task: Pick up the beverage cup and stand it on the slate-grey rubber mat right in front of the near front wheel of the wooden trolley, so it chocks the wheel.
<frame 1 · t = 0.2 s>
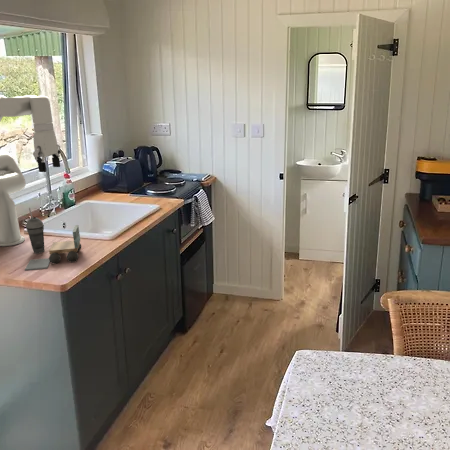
hand: (50, 169, 207), 36 cm above the table, tool pointing down, fingers open, 9 cm apart
beverage cup: (39, 252, 218), on the table
trolley: (66, 257, 210), on the table
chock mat: (38, 264, 203), on the table
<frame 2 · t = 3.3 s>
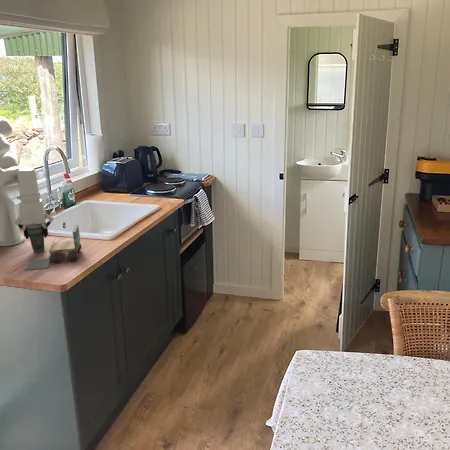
hand: (36, 237, 216), 7 cm above the table, tool pointing down, fingers closed on beverage cup, 7 cm apart
beverage cup: (39, 252, 218), on the table, touching gripper
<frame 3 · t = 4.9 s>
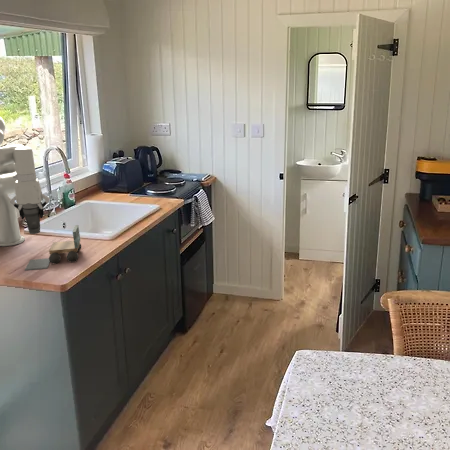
hand: (32, 217, 213), 16 cm above the table, tool pointing down, fingers closed on beverage cup, 7 cm apart
beverage cup: (34, 232, 216), point 9 cm above the table, touching gripper
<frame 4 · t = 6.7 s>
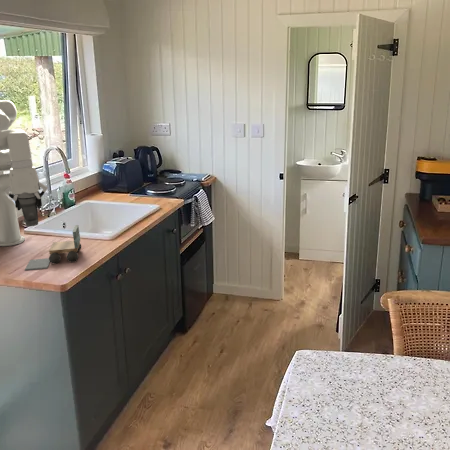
hand: (29, 208, 196), 24 cm above the table, tool pointing down, fingers closed on beverage cup, 6 cm apart
beverage cup: (32, 225, 199), point 17 cm above the table, touching gripper
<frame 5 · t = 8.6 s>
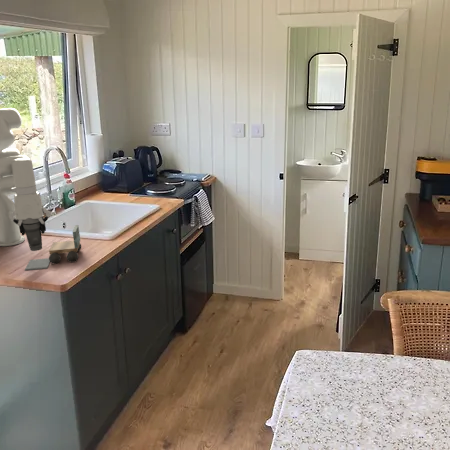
hand: (33, 233, 199), 14 cm above the table, tool pointing down, fingers closed on beverage cup, 6 cm apart
beverage cup: (36, 249, 201), point 7 cm above the table, touching gripper
when the fingers open (9 cm above the table, at t = 10.2 s): beverage cup drops 1 cm, resting on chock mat.
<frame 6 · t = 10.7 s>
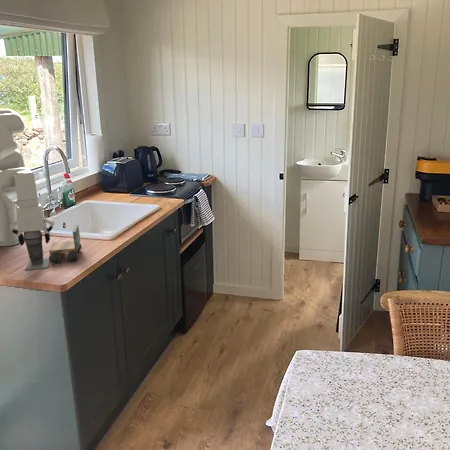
hand: (35, 243, 201), 9 cm above the table, tool pointing down, fingers open, 9 cm apart
beverage cup: (37, 263, 203), resting on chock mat
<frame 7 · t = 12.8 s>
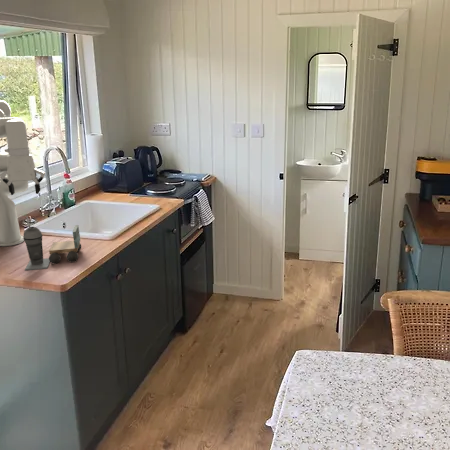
hand: (25, 193, 202), 28 cm above the table, tool pointing down, fingers open, 9 cm apart
nothing on the table moved.
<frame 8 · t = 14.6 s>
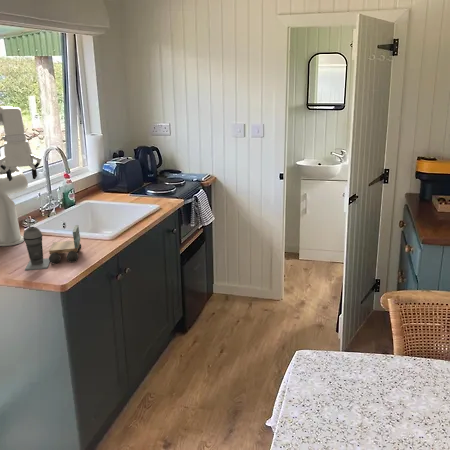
hand: (22, 179, 208), 32 cm above the table, tool pointing down, fingers open, 9 cm apart
nothing on the table moved.
at the end: beverage cup 0.5 cm from the target spot on the table beside the trolley, resting on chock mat; beverage cup tilted 0°; the gripper is holding nothing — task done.
